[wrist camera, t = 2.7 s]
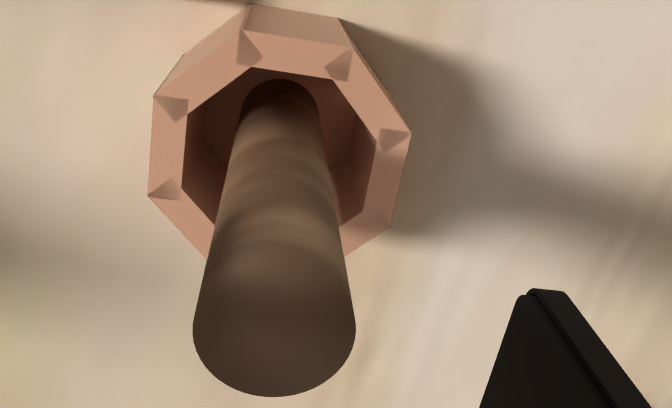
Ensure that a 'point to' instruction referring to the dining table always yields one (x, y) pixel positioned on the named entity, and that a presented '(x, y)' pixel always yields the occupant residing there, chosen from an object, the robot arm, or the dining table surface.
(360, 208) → the cup
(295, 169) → the dowel
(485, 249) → the dining table surface
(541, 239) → the dining table surface
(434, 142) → the dining table surface
